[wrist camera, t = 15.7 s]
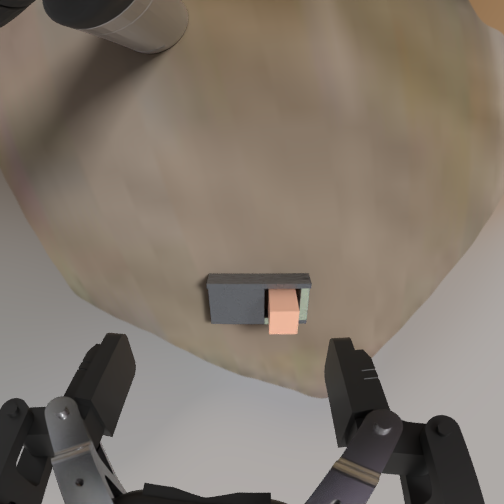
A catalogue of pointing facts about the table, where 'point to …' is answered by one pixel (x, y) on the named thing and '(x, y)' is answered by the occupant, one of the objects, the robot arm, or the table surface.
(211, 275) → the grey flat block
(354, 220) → the table surface
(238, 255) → the table surface
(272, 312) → the salmon pink block
